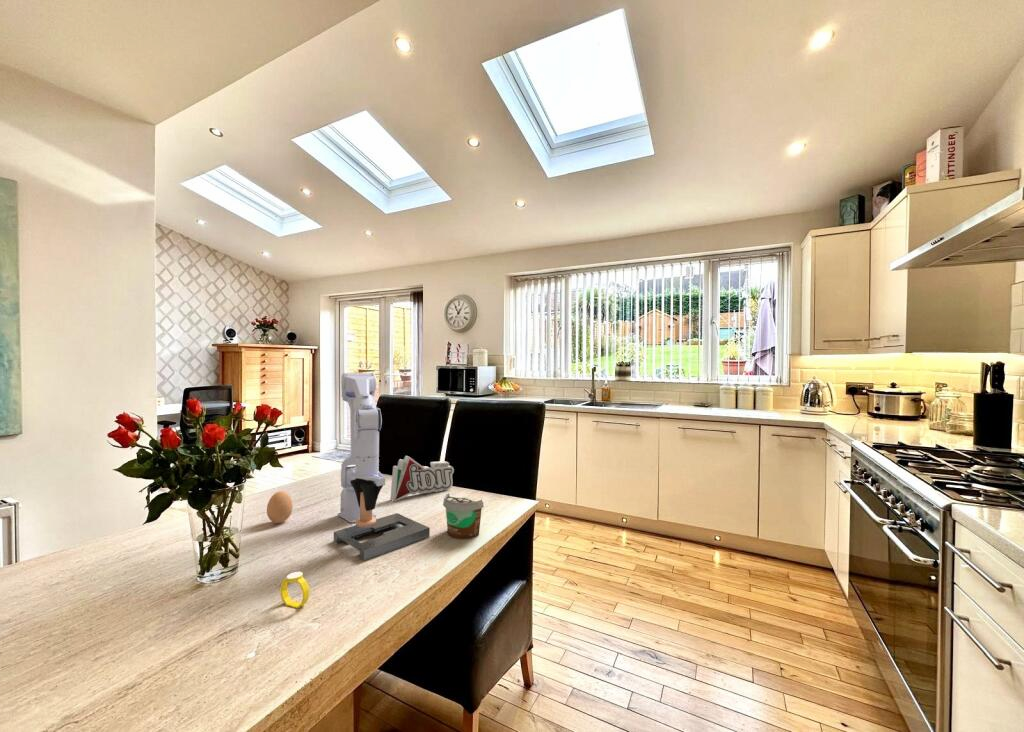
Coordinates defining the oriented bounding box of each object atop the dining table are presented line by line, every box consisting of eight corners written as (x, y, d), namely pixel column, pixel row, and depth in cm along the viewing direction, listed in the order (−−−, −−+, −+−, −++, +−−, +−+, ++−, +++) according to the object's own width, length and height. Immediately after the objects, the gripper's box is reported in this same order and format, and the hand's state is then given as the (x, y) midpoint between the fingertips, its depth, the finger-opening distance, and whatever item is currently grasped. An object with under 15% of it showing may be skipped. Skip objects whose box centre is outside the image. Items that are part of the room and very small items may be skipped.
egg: (293, 524, 119) (293, 492, 119) (266, 528, 116) (267, 496, 116) (291, 516, 125) (291, 487, 125) (266, 521, 121) (266, 490, 121)
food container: (433, 535, 113) (433, 498, 113) (447, 527, 118) (447, 492, 118) (471, 544, 107) (471, 506, 107) (483, 536, 112) (483, 499, 112)
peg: (352, 523, 106) (352, 492, 106) (370, 518, 110) (371, 488, 110) (360, 529, 103) (361, 497, 103) (379, 523, 106) (380, 493, 106)
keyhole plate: (333, 541, 108) (333, 531, 108) (396, 521, 122) (396, 513, 122) (363, 561, 97) (364, 550, 97) (429, 536, 111) (429, 527, 111)
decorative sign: (447, 493, 157) (451, 454, 157) (451, 495, 154) (455, 455, 155) (389, 500, 142) (394, 456, 143) (392, 502, 140) (397, 457, 141)
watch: (277, 607, 79) (276, 576, 79) (289, 600, 82) (288, 569, 82) (301, 612, 77) (300, 579, 77) (313, 604, 80) (311, 573, 80)
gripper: (339, 453, 108) (338, 505, 108) (366, 462, 99) (366, 519, 99) (364, 449, 114) (363, 499, 114) (392, 458, 104) (392, 511, 104)
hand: (366, 508), depth 106 cm, fingers closed on peg, 3 cm apart
